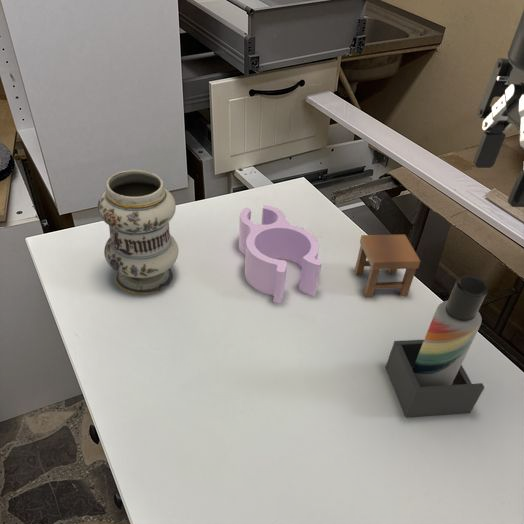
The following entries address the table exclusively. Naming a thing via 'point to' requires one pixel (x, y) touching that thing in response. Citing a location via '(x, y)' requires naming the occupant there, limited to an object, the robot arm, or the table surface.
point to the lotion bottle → (450, 333)
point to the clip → (277, 252)
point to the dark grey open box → (432, 397)
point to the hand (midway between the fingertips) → (498, 184)
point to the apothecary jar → (139, 230)
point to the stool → (386, 261)
